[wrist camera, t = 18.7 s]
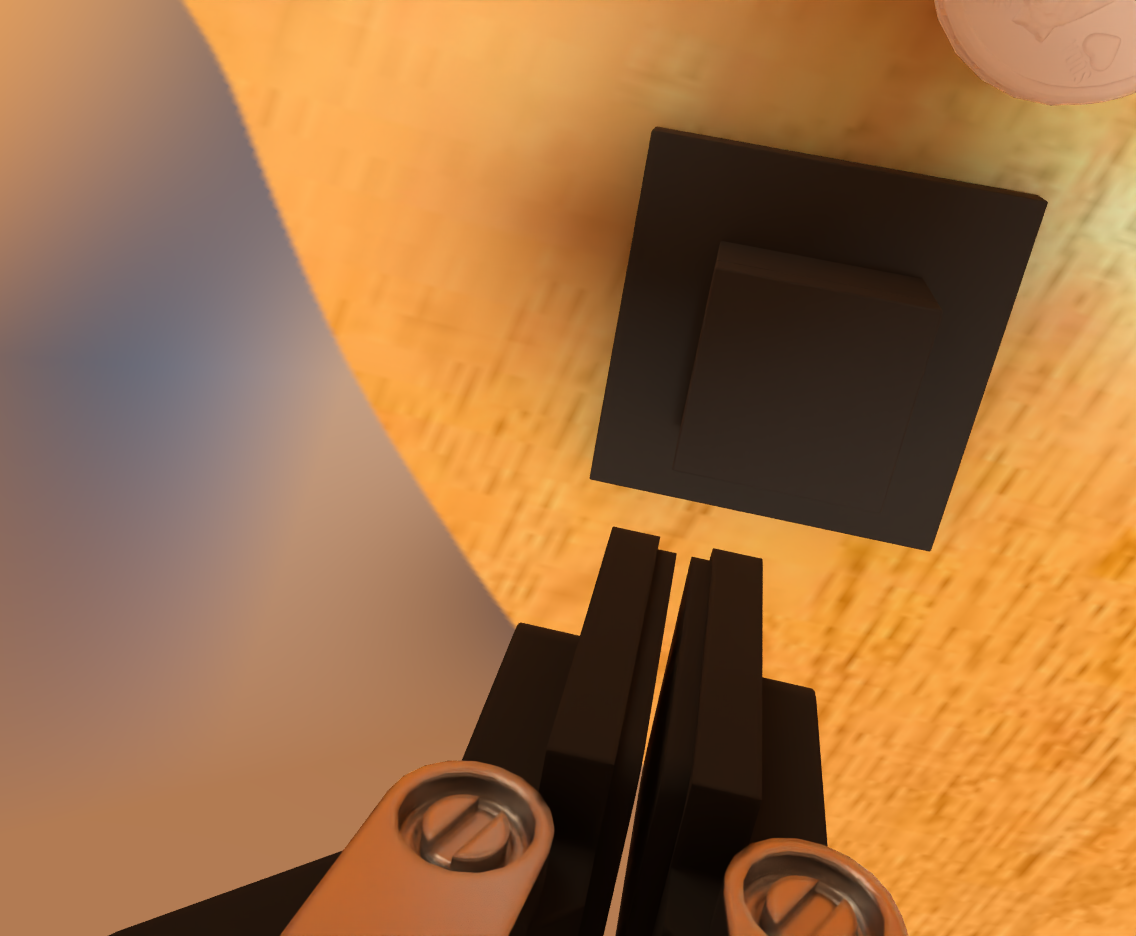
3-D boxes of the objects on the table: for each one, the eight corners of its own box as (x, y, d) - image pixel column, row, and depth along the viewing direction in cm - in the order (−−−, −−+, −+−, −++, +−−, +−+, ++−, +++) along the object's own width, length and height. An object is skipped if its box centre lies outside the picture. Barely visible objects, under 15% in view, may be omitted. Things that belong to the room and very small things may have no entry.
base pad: (1039, 195, 32) (1066, 212, 30) (925, 536, 37) (939, 580, 34) (655, 126, 34) (644, 136, 31) (594, 466, 39) (580, 503, 36)
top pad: (924, 278, 33) (944, 310, 29) (868, 464, 35) (880, 515, 32) (720, 240, 33) (715, 267, 30) (681, 425, 36) (671, 471, 32)
